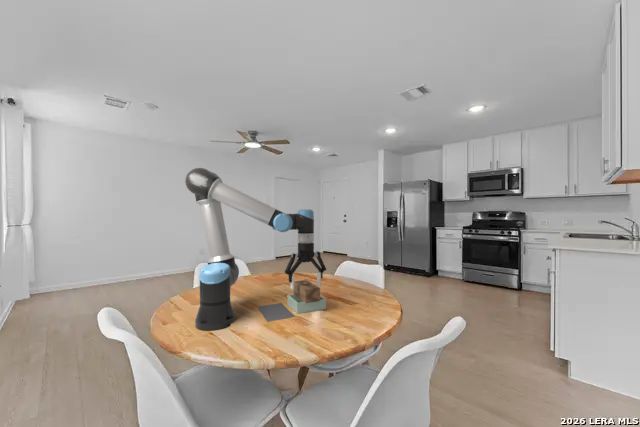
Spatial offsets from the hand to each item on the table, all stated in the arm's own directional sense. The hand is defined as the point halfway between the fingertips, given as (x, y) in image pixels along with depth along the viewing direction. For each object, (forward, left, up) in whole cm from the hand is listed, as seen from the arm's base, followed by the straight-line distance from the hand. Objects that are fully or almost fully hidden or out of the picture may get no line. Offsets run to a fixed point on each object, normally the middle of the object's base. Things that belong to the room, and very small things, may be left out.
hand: (306, 287), depth 129 cm
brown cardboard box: (0, 0, -5) cm, 5 cm away
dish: (0, 0, -10) cm, 10 cm away
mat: (-15, 0, -10) cm, 18 cm away
